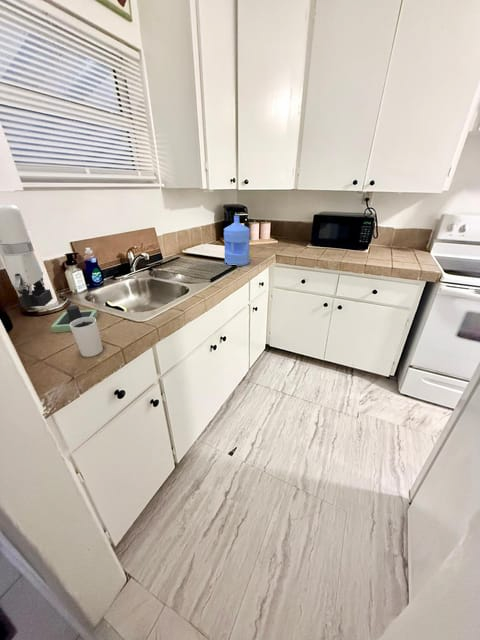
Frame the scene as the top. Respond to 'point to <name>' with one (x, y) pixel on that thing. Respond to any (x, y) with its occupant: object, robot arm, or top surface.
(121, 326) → the top surface
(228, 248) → the water jug
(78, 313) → the black stud pad
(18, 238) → the robot arm
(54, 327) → the green square tray
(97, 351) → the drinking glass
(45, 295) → the dark grey square bin
